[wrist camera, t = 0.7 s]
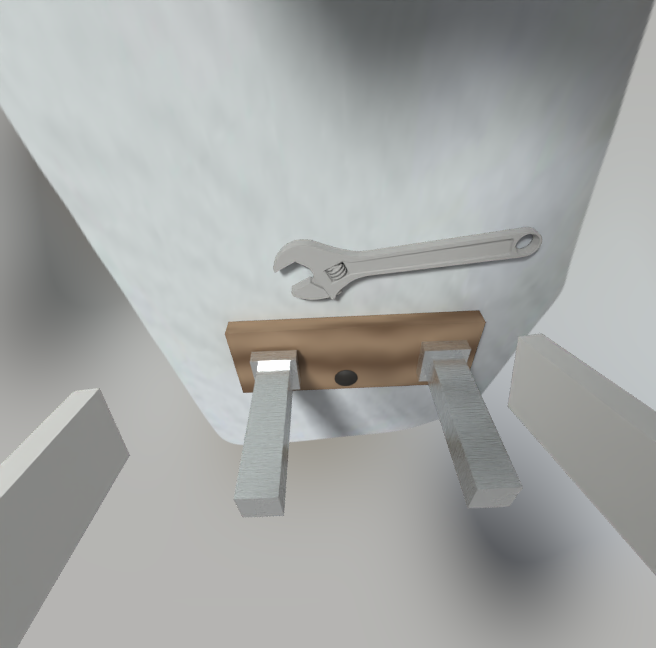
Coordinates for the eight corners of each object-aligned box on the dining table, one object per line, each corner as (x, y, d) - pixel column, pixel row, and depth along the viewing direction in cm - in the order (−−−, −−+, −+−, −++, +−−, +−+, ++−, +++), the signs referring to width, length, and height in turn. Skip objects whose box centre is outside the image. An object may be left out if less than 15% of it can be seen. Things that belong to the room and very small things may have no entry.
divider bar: (228, 321, 39) (224, 334, 37) (479, 310, 38) (486, 322, 37) (245, 380, 45) (243, 393, 43) (460, 371, 45) (465, 383, 43)
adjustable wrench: (538, 221, 32) (548, 229, 31) (517, 279, 37) (525, 288, 35) (273, 239, 33) (271, 248, 31) (283, 294, 37) (282, 304, 35)
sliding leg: (251, 351, 38) (221, 495, 26) (296, 349, 38) (286, 492, 26) (261, 390, 43) (239, 528, 31) (301, 388, 43) (295, 526, 31)
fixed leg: (421, 341, 38) (470, 485, 26) (466, 339, 38) (535, 482, 26) (414, 381, 43) (452, 520, 31) (454, 379, 43) (509, 518, 31)
